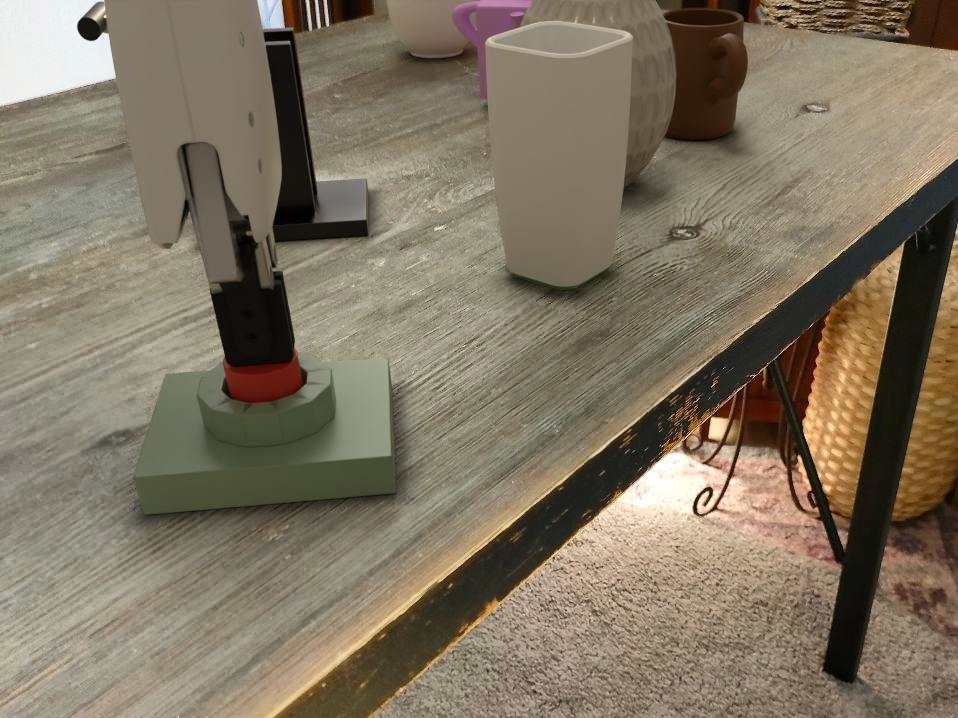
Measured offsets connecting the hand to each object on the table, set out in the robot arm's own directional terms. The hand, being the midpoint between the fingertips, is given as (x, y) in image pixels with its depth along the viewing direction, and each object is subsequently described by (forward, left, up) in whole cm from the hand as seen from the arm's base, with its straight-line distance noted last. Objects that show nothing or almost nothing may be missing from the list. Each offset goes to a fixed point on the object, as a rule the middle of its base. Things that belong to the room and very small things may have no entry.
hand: (262, 356), depth 51 cm
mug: (+26, +52, -6) cm, 58 cm away
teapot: (+10, +64, -6) cm, 65 cm away
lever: (-12, +31, +6) cm, 34 cm away
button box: (0, 0, -5) cm, 5 cm away
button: (0, 0, -2) cm, 2 cm away
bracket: (-7, +32, -5) cm, 33 cm away
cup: (+14, +22, -6) cm, 27 cm away
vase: (+16, +40, -6) cm, 43 cm away
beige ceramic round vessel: (-2, +83, -6) cm, 83 cm away
